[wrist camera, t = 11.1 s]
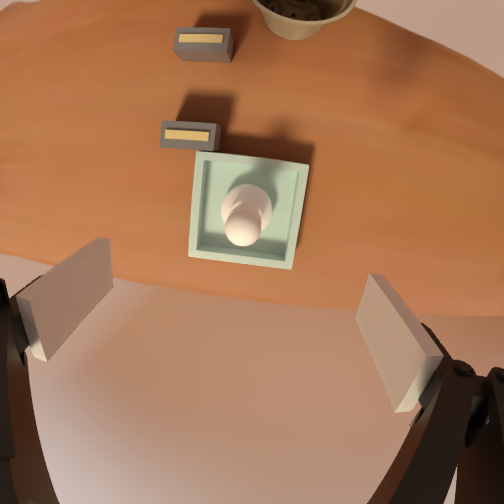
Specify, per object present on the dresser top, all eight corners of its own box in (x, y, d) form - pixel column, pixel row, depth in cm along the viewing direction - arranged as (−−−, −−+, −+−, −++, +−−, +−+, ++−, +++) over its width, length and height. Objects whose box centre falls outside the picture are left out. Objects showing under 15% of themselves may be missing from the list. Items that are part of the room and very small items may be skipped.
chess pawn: (264, 177, 29) (265, 190, 21) (277, 224, 31) (284, 254, 22) (216, 191, 30) (198, 210, 21) (231, 237, 32) (220, 271, 23)
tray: (305, 163, 29) (309, 165, 27) (289, 260, 33) (291, 269, 31) (201, 150, 29) (196, 151, 27) (193, 248, 33) (188, 256, 30)
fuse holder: (234, 41, 25) (230, 27, 21) (219, 150, 29) (212, 151, 25) (186, 40, 25) (176, 26, 21) (171, 146, 29) (158, 147, 25)
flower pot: (251, 57, 26) (248, 26, 17) (242, -13, 22) (237, -55, 14) (342, 54, 25) (368, 27, 17) (328, -15, 22) (346, -53, 14)
